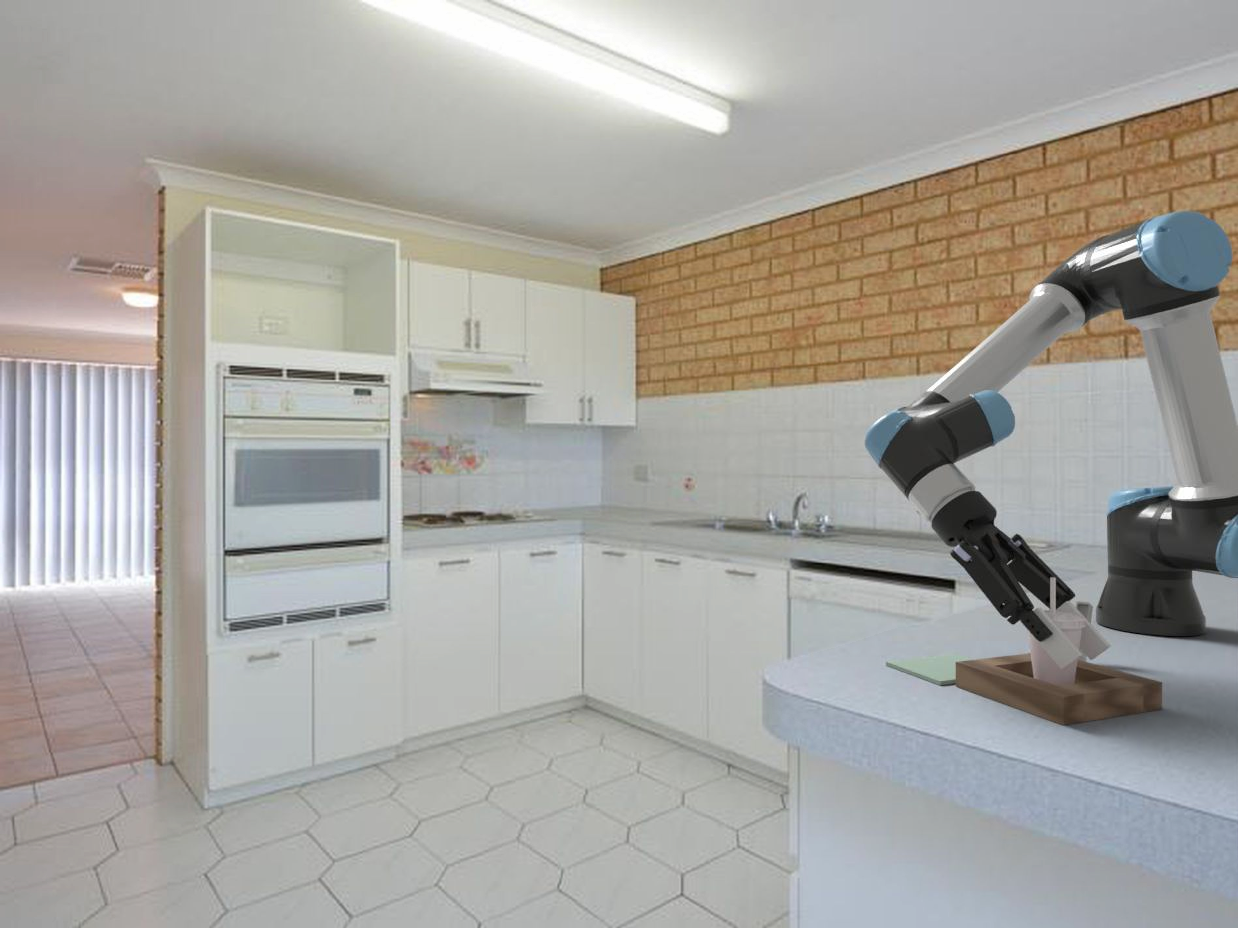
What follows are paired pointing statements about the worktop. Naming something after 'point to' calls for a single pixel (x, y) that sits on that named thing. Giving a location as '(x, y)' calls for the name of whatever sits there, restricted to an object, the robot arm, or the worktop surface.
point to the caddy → (1060, 689)
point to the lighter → (1086, 611)
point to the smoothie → (1041, 659)
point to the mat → (931, 667)
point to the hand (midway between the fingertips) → (1086, 657)
